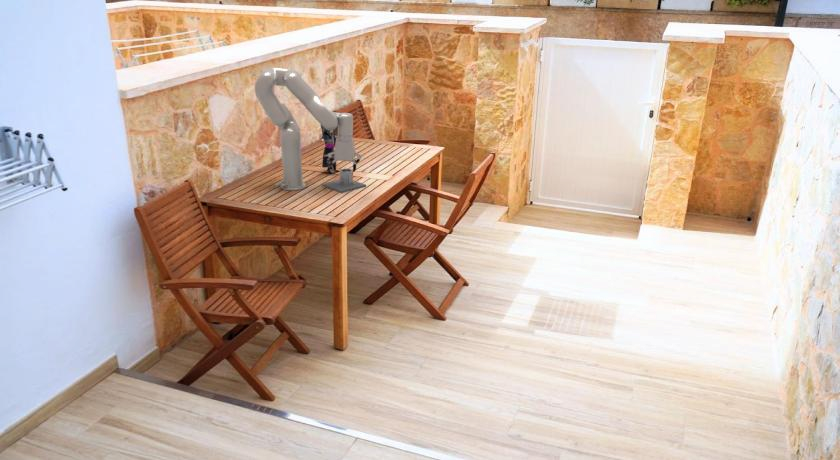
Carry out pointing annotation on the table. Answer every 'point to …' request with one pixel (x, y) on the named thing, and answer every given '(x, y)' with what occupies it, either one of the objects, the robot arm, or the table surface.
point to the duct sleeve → (346, 176)
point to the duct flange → (343, 186)
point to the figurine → (328, 148)
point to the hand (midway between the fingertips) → (344, 170)
